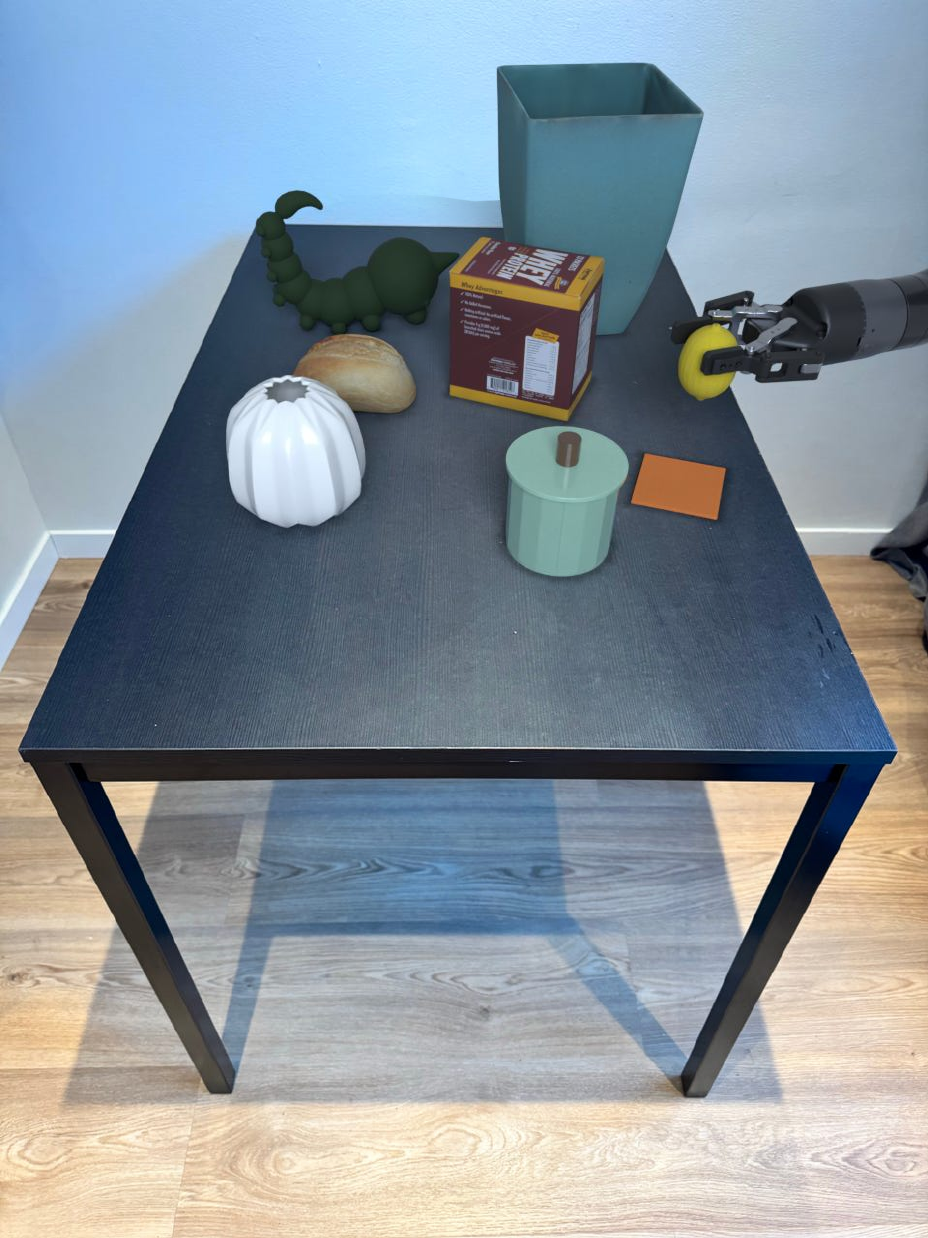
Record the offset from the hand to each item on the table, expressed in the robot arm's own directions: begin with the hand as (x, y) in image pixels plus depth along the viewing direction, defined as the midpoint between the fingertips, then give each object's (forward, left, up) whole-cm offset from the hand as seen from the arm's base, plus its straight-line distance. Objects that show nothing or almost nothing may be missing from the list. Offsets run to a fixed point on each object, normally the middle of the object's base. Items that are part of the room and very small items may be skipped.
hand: (688, 348), depth 82 cm
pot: (+8, +12, -17) cm, 22 cm away
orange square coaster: (-2, -1, -17) cm, 17 cm away
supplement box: (+19, -15, -17) cm, 30 cm away
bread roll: (+37, -5, -17) cm, 41 cm away
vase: (+35, +14, -17) cm, 42 cm away
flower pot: (+17, -35, -17) cm, 43 cm away
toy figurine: (+43, -24, -17) cm, 53 cm away
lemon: (-2, -1, -6) cm, 7 cm away
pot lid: (+8, +12, -7) cm, 16 cm away
